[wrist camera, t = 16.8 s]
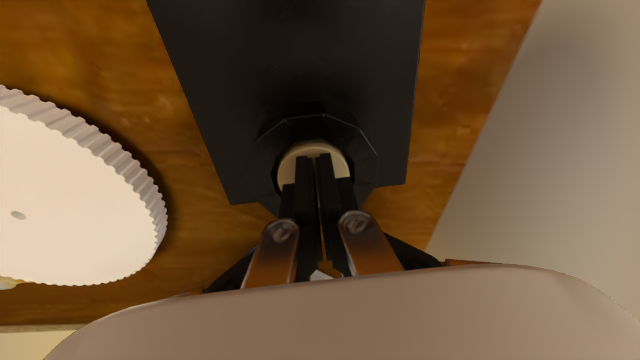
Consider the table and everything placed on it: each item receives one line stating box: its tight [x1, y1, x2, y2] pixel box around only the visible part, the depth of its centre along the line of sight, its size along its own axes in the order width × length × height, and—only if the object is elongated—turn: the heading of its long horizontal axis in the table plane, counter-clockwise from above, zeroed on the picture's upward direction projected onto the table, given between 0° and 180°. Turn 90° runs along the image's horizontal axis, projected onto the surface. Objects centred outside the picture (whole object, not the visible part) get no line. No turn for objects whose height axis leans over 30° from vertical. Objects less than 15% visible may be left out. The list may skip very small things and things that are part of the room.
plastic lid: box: [0, 85, 168, 286], centre depth 15 cm, size 14×14×2 cm
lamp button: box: [277, 139, 350, 203], centre depth 13 cm, size 4×4×2 cm
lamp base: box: [146, 0, 425, 224], centre depth 11 cm, size 15×11×4 cm
